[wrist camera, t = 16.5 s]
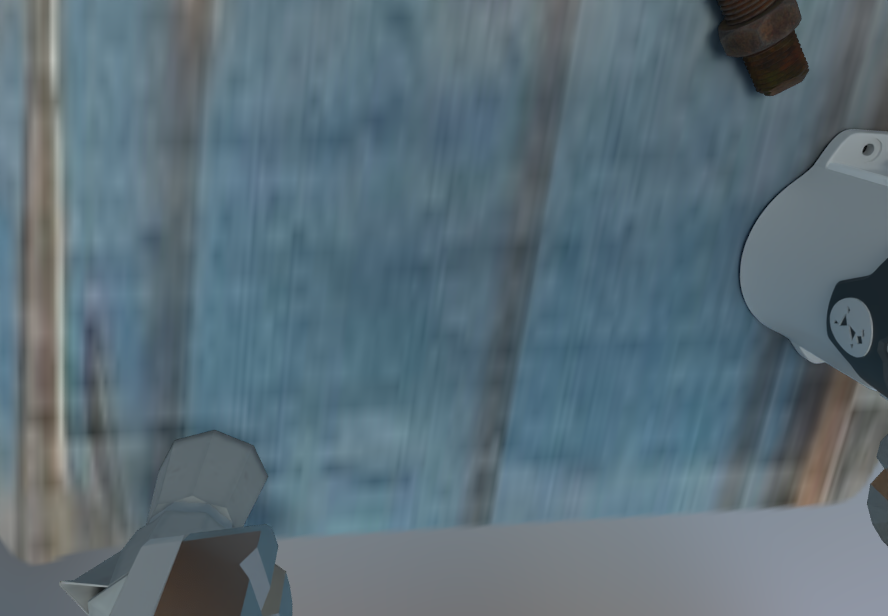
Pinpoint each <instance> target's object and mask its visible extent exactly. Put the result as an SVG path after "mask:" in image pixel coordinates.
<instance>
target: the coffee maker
mask: <svg viewBox="0 0 888 616" xmlns="http://www.w3.org/2000/svg"><path fill="white" fill-rule="evenodd" d="M267 478H268V476H267V473H266V471H265V469H264V467H263V465H262V463H261V461H260V458H259V456H258V454H257V452H256V450H255V448H254V446H253V445H251V444H248V443H246V442H243V441H241V440H238V439H236V438H233V437H231V436H228V435H226V434H223V433H221V432H218V431H216V430H213V431H209V432H205V433H201V434H197V435H193V436H189V437H185V438H181V439H178V440H175V441H174V443H173V445H172V447H171V448H170V450H169V452H168V454H167V456H166V458H165V460H164V462H163V464H162V466H161V468H160V469H159V473H158V477H157V481H156V486H155V490H154V494H153V498H152V502H151V506H150V510H149V514H148V518H147V523H146V525H145V526H144V527H142V528H140V529H139V530H137V531H136V533H135V534H134V535H133V536H132V538H131V539H130V540H129V542H128V543H127V544H126V545H125V547H124V548H123V549H122V550H121V551H120V552H118V553H117V554H115V555H113V556H112V557H110V558H109V559H107V560H105V561H104V562H102V563H101V564H99V565H97V566H96V567H94V568H93V569H91V570H89V571H88V572H86V573H85V574H83V575H81V576H80V577H79V578H77V579H75V580H72V581H60V583H59V585H60V587H61V588H62V589H64V591H65V592H66V593H67V594H68V595H69V596H70V597H71V598H72V599H73V600H74V601H75V602H76V603H77V604H78V605H79V606H80V607H81V608H82V609H83V610H84V611H85V612H86V613H87V615H88V616H109V615H110V613H111V610H112V608H113V606H114V604H115V602H116V600H117V597H118V595H119V593H120V591H121V589H122V587H123V585H124V582H125V580H126V578H127V576H128V574H129V572H130V569H131V567H132V565H133V563H134V561H135V559H136V556H137V554H138V552H139V550H140V548H141V547H142V546H143V545H144V544H145V543H146V542H148V541H149V540H150V539H155V538H164V537H172V536H180V535H189V534H190V533H198V532H206V531H214V530H222V529H230V528H238V527H243V526H244V524H245V522H246V520H247V518H248V516H249V514H250V512H251V510H252V508H253V506H254V504H255V502H256V500H257V498H258V496H259V494H260V492H261V490H262V488H263V486H264V484H265V482H266V480H267Z"/></svg>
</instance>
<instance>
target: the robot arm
mask: <svg viewBox="0 0 888 616" xmlns="http://www.w3.org/2000/svg"><path fill="white" fill-rule="evenodd" d="M865 145H867V149H866V151H865V152H864V153H862V150H863V148H864V146H865ZM740 283H741V289H742V293H743V297H744V299H745V302H746V304H747V306H748V308H749V309H750V311H751V312H752V314H753V315H754V316H755V317H756V318H757V319H758V320H759V321H760V322H761V323H762V324H764V325H765V326H766V327H768V328H770V329H772V330H774V331H776V332H778V333H780V334H782V335H783V336H785V337H787V338H788V339H789V340H790V341H791V343H792V344H793V346H794V347H795V349H796V350H797V352H798V353H799V354H800V355H801V356H802V357H803V358H805V359H807V360H808V361H810V362H812V363H815V364H819V363H824V362H826V363H828V364H829V365H831V366H832V367H834V368H836V369H837V370H839V371H841V372H842V373H844V374H846V375H847V376H849V377H851V378H852V379H854V380H856V381H857V382H859V383H861V384H863V385H864V386H866V387H868V388H869V389H872V390H875V391H878V392H880V395H881V396H882V397H884V398H885V399H886V400H888V131H875V130H861V129H848V130H845V131H843V132H841V133H839V134H838V135H837V136H836V137H835V138H834V139H833V140H832V141H831V142H830V144H829V145H828V146H827V147H826V149H825V150H824V151H823V153H822V154H821V156H820V157H819V159H818V160H817V161H816V163H815V164H814V166H813V167H812V168H811V169H809V170H808V171H807V172H806V173H805V174H804V175H802V176H801V177H800V178H798V179H797V180H796V181H794V182H793V183H792V184H790V185H789V186H788V187H786V188H785V189H784V190H783V191H782V192H781V193H780V194H778V195H777V196H776V197H775V198H774V200H773V201H772V202H771V203H770V204H769V205H768V206H767V207H766V209H765V210H764V211H763V213H762V214H761V215H760V217H759V218H758V220H757V221H756V223H755V225H754V227H753V228H752V230H751V232H750V234H749V237H748V239H747V242H746V244H745V247H744V251H743V254H742V259H741V266H740ZM877 459H878V460H879V462H880V463H881V464H882V466H883V467H884V470H883V471H882V472H881V473H880V474H879V475H878V476H877V477H876V478H875V480H874V481H873V482H872V483H871V484H870V490H869V495H868V501H867V505H868V509H869V513H870V517H871V521H872V524H873V526H874V528H875V529H876V531H877V533H878V534H879V536H880V538H881V539H882V541H883V542H884V543H885V544H886V545H887V546H888V434H887V435H886V436H885V437H884V438H883V440H882V441H881V442H880V446H879V450H878V453H877ZM277 550H278V544H277V541H276V538H275V535H274V532H273V529H272V527H271V526H269V525H267V524H263V525H255V526H247V527H238V528H230V529H222V530H214V531H206V532H198V533H190V534H189V535H180V536H172V537H164V538H155V539H150V540H149V541H148V542H146V543H145V544H144V545H143V546H142V547H141V548H140V550H139V552H138V554H137V556H136V559H135V561H134V563H133V565H132V567H131V569H130V572H129V574H128V576H127V578H126V580H125V582H124V585H123V587H122V589H121V591H120V593H119V595H118V597H117V600H116V602H115V604H114V606H113V608H112V610H111V613H110V615H109V616H292V597H291V590H290V584H289V581H288V577H287V574H286V571H285V570H283V569H282V568H280V567H279V566H277V565H276V564H275V560H276V555H277Z"/></svg>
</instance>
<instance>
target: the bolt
mask: <svg viewBox="0 0 888 616" xmlns="http://www.w3.org/2000/svg"><path fill="white" fill-rule="evenodd" d="M716 1H718V5H720V6H721V7H720V10H723V12H722V14H723V15H725V17H724V19H723V21H722V22H721V23H720V25H719V27H718V32H719V38H720V42H721V44H722V46H723V48H724V50H725V52H726V55H727V56H731V57H736V58H737V57H743V61H744V62H745V65H746V66H747V70H749V71H748V72H749V74H750V76H751V78H752V79H753V80H752V81H753V83H754V87H756V91H757V92H759V93H764V95H765V96H774V95H776V94H778V93H780V92H782V91H784V90H786V89H788V88H790V87H792V86H794V85H796V84H798V83H800V82H802V81H803V79H804V78H805V76H806V75H807V73H808V71H809V69H808V67H809V66H808V65H807V64H808V63H807V61H806V58H805V57H804V54H803V52H802V48H800V44H799V43H798V42H799V41H798V39H797V35H796V34H795V30H794V29H795V28H796V27H797V26H798V25H799V23H800V21H801V14H800V11H799V7H798V4H797V2H796V0H716Z"/></svg>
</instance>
